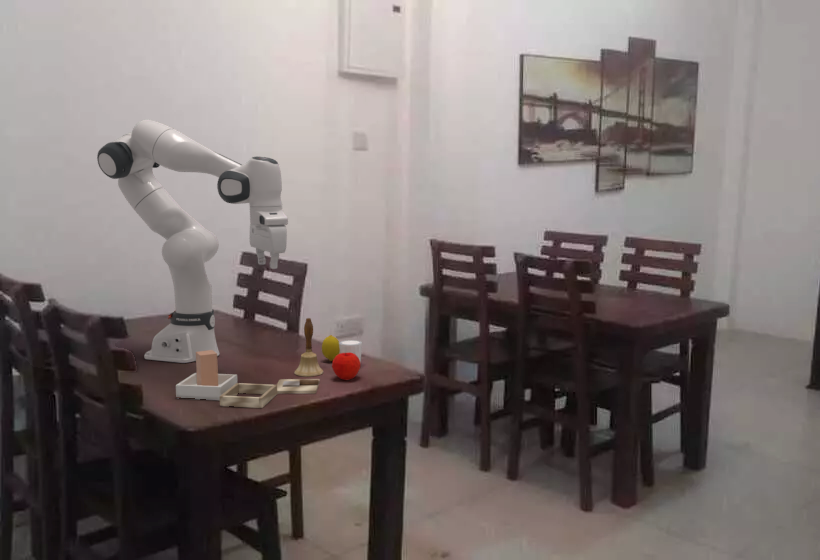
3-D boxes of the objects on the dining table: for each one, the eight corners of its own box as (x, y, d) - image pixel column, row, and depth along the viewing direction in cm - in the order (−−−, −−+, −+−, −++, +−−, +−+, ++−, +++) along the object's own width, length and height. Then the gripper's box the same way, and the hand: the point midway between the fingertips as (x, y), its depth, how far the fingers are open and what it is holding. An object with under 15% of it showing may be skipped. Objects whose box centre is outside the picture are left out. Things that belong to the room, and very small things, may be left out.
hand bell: (327, 370, 242) (326, 316, 240) (318, 377, 234) (317, 321, 232) (300, 368, 244) (299, 314, 241) (290, 376, 236) (288, 320, 233)
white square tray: (176, 398, 215) (175, 385, 214) (195, 385, 226) (194, 372, 226) (220, 400, 213) (220, 387, 212) (237, 387, 225) (237, 374, 224)
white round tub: (339, 362, 250) (338, 339, 249) (362, 362, 251) (361, 339, 250) (339, 368, 244) (338, 345, 242) (362, 368, 244) (362, 344, 243)
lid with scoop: (273, 393, 219) (273, 385, 218) (279, 382, 229) (279, 374, 229) (316, 393, 219) (316, 385, 218) (320, 381, 230) (320, 374, 229)
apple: (349, 373, 239) (349, 347, 238) (366, 378, 233) (366, 352, 232) (326, 378, 234) (326, 352, 232) (343, 384, 228) (343, 357, 227)
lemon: (337, 363, 249) (337, 337, 248) (319, 362, 250) (319, 336, 249) (342, 359, 254) (342, 333, 253) (325, 358, 255) (324, 332, 254)
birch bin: (219, 406, 208) (219, 396, 208) (237, 392, 220) (236, 383, 220) (262, 408, 207) (261, 398, 206) (277, 394, 218) (277, 384, 218)
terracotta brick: (197, 388, 220) (195, 351, 219) (213, 386, 223) (212, 349, 221) (201, 393, 217) (200, 355, 215) (218, 390, 219) (217, 353, 217)
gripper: (243, 214, 237) (244, 262, 239) (267, 219, 219) (269, 271, 221) (264, 213, 240) (265, 261, 242) (290, 218, 222) (291, 270, 224)
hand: (267, 266), depth 232 cm, fingers open, 8 cm apart
